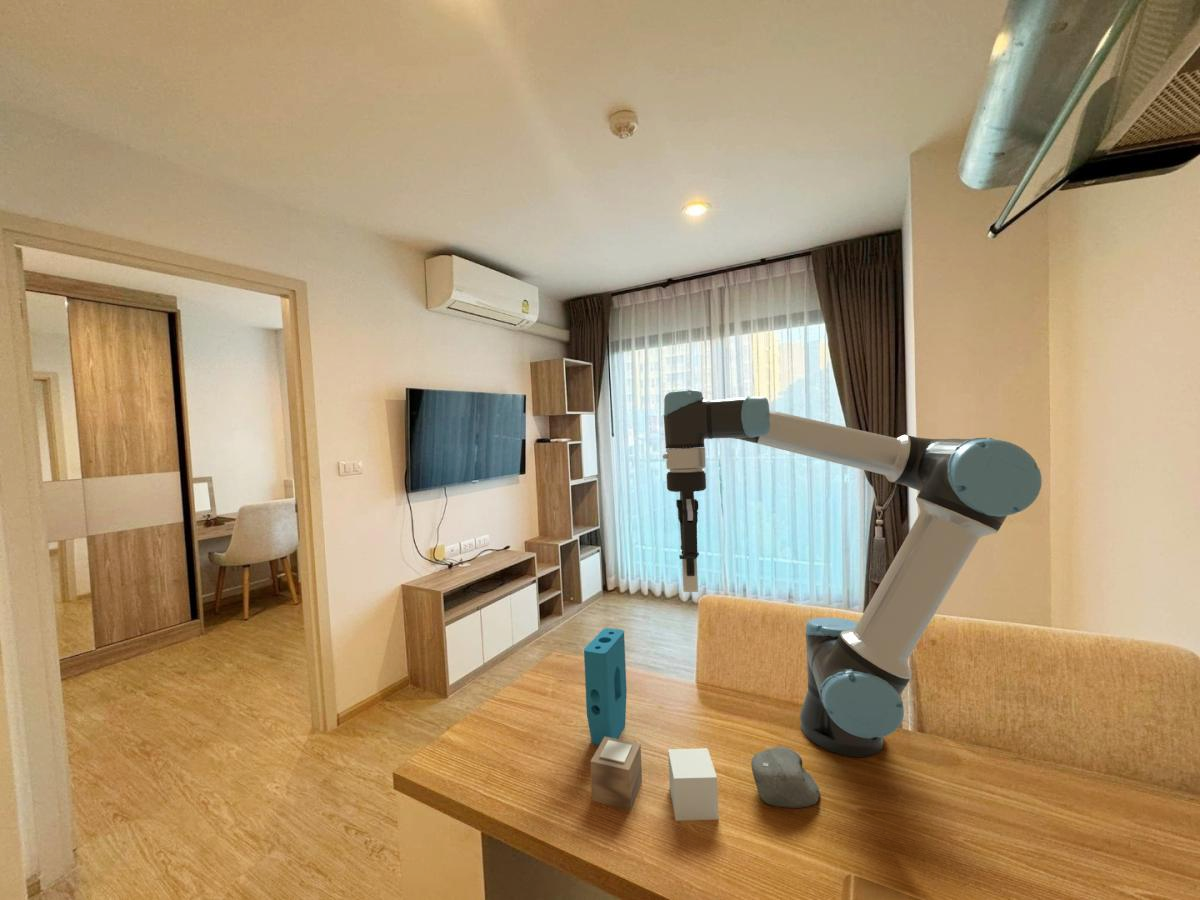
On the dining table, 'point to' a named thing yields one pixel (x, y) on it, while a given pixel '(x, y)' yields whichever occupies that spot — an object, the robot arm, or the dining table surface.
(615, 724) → the block
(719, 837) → the dining table surface
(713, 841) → the dining table surface
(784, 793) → the stone
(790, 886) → the dining table surface
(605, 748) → the marked block
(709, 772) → the plain block
